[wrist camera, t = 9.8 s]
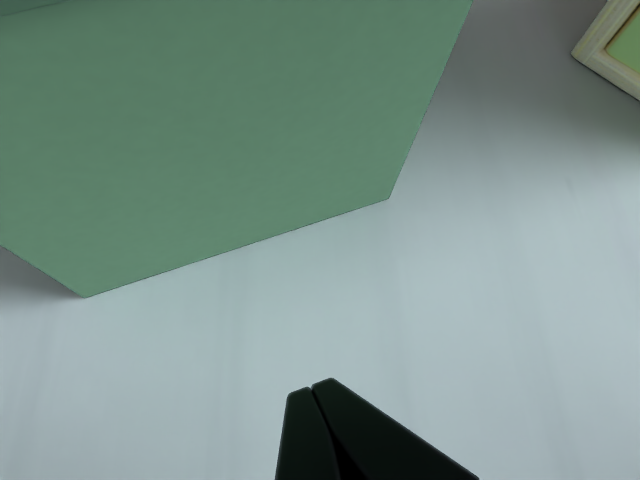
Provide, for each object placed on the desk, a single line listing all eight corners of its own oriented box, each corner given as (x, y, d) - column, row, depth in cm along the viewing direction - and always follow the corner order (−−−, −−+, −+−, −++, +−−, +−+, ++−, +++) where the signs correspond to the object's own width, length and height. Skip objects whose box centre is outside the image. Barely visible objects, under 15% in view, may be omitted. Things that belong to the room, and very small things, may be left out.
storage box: (399, 203, 20) (573, -159, 8) (77, 309, 18) (-393, 46, 6) (307, 4, 24) (326, -478, 11) (24, 75, 21) (-348, -422, 9)
